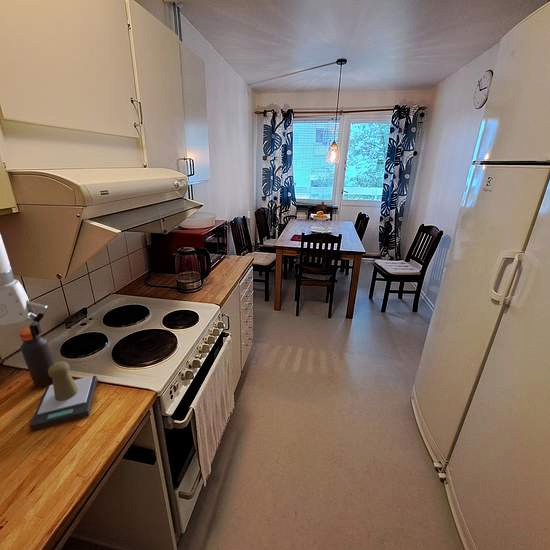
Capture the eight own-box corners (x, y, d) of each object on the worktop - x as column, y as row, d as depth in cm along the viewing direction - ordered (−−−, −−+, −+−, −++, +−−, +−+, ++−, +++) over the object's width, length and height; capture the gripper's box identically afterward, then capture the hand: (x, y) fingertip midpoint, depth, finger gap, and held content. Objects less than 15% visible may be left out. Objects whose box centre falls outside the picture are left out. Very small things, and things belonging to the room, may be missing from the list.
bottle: (42, 390, 93) (23, 338, 86) (29, 384, 96) (9, 333, 88) (63, 376, 99) (47, 327, 92) (50, 371, 102) (34, 323, 94)
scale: (31, 431, 79) (28, 424, 78) (48, 391, 93) (46, 385, 92) (89, 416, 84) (87, 409, 83) (97, 379, 98) (96, 374, 97)
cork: (50, 397, 87) (39, 368, 83) (69, 384, 93) (60, 356, 88) (64, 403, 85) (53, 374, 81) (82, 389, 91) (74, 361, 87)
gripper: (-68, 289, 61) (-39, 356, 67) (32, 280, 68) (50, 341, 74) (-48, 277, 67) (-23, 339, 74) (42, 270, 74) (58, 327, 80)
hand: (13, 340), depth 74 cm, fingers open, 9 cm apart
